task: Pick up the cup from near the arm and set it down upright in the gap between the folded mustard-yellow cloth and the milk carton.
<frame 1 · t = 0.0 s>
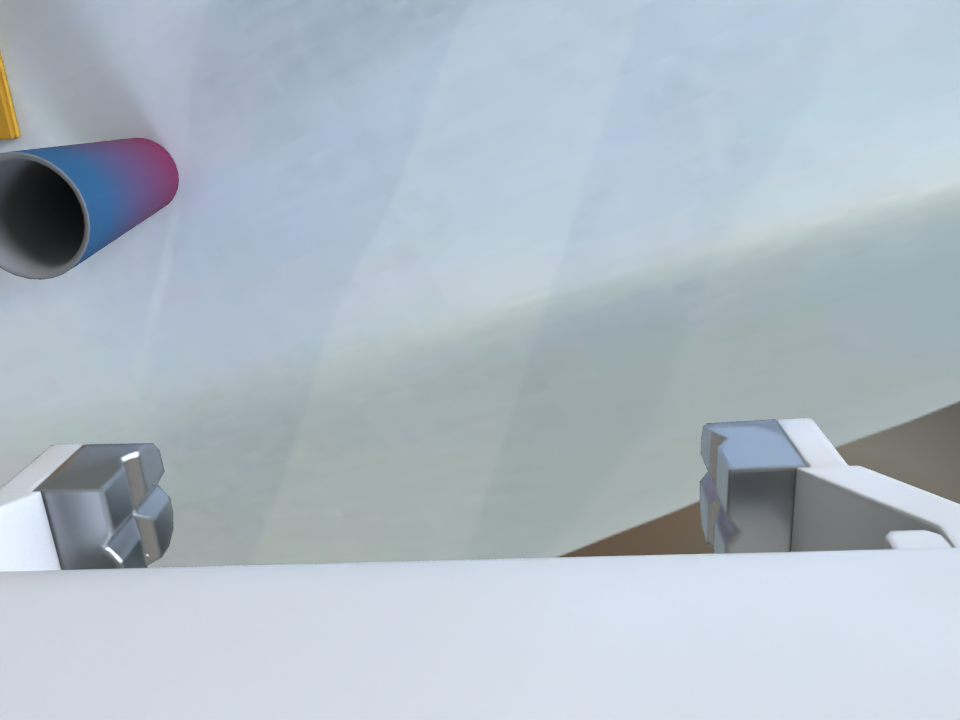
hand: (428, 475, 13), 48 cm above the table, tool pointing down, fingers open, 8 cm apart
cup: (144, 174, 60), on the table
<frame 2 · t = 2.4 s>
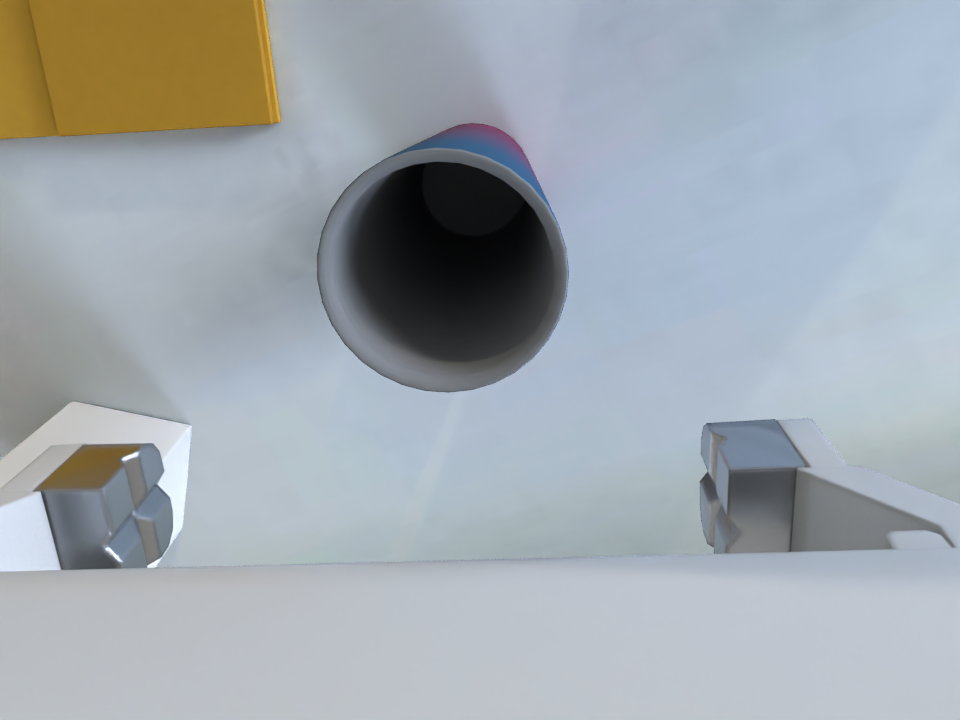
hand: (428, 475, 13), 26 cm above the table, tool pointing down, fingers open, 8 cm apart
milk: (130, 463, 43), on the table
cup: (474, 182, 38), on the table
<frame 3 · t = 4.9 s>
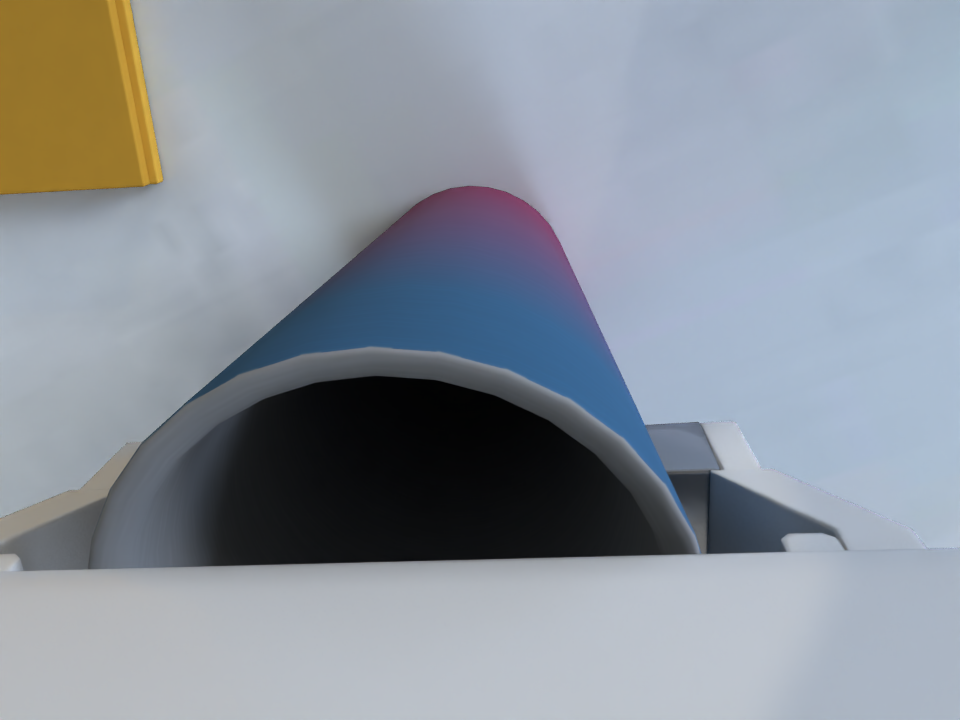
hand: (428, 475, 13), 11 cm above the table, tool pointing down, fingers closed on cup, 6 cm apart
cup: (473, 277, 24), on the table, touching gripper
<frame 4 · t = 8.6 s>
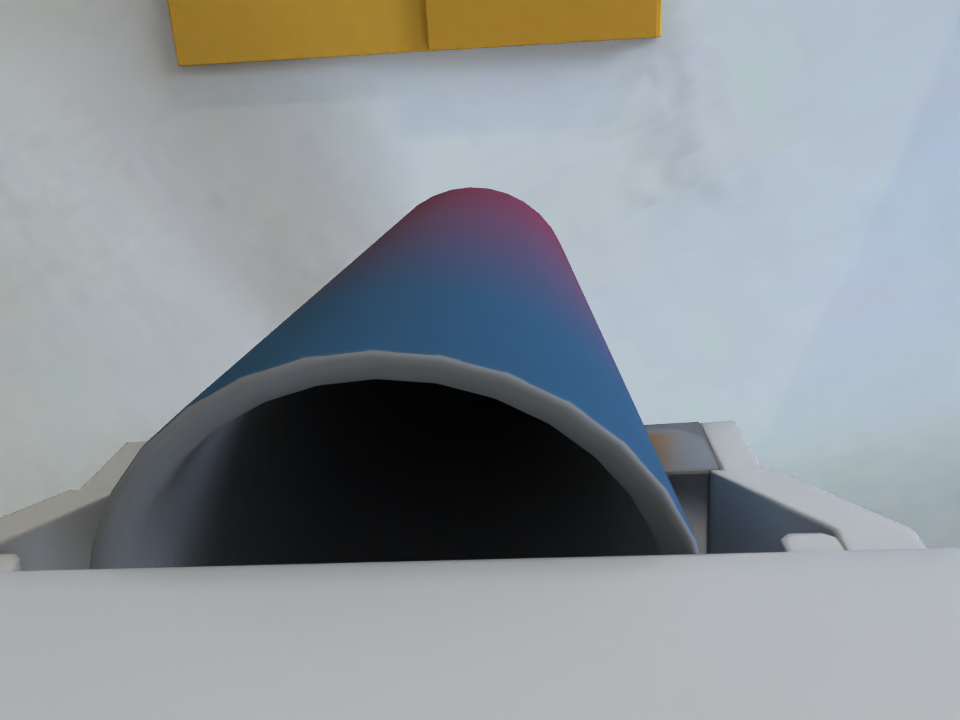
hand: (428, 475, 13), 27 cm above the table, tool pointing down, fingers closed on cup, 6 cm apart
cup: (474, 278, 24), point 15 cm above the table, touching gripper
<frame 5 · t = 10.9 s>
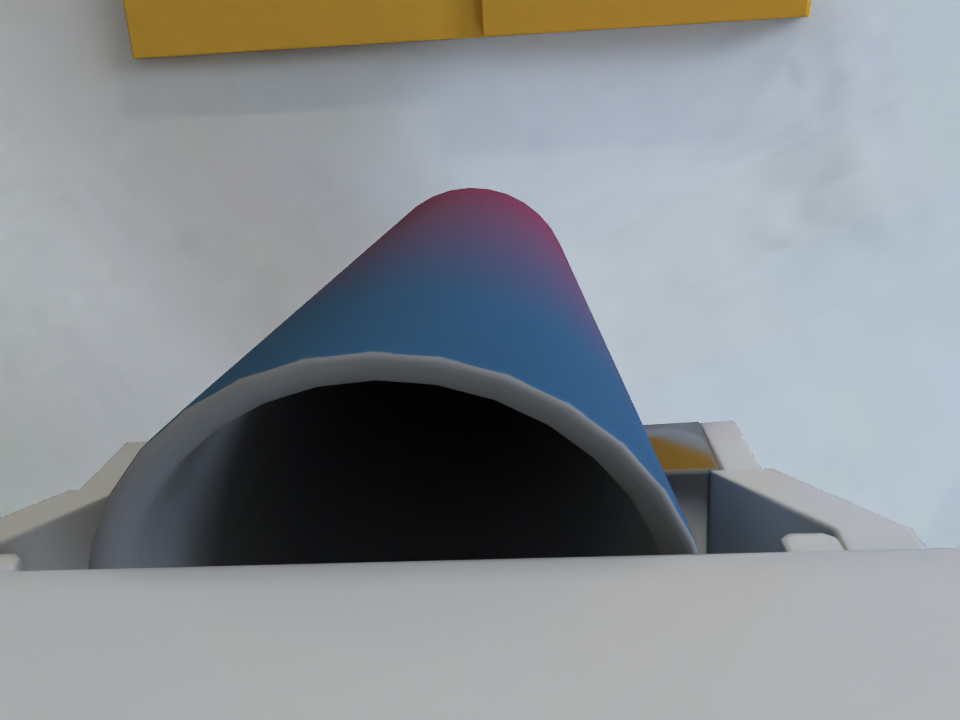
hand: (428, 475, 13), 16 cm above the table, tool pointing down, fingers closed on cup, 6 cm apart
cup: (474, 279, 24), point 5 cm above the table, touching gripper
when the fingers open (11 cm above the table, at t = 12.7 s): cup stays where it is, on the table.
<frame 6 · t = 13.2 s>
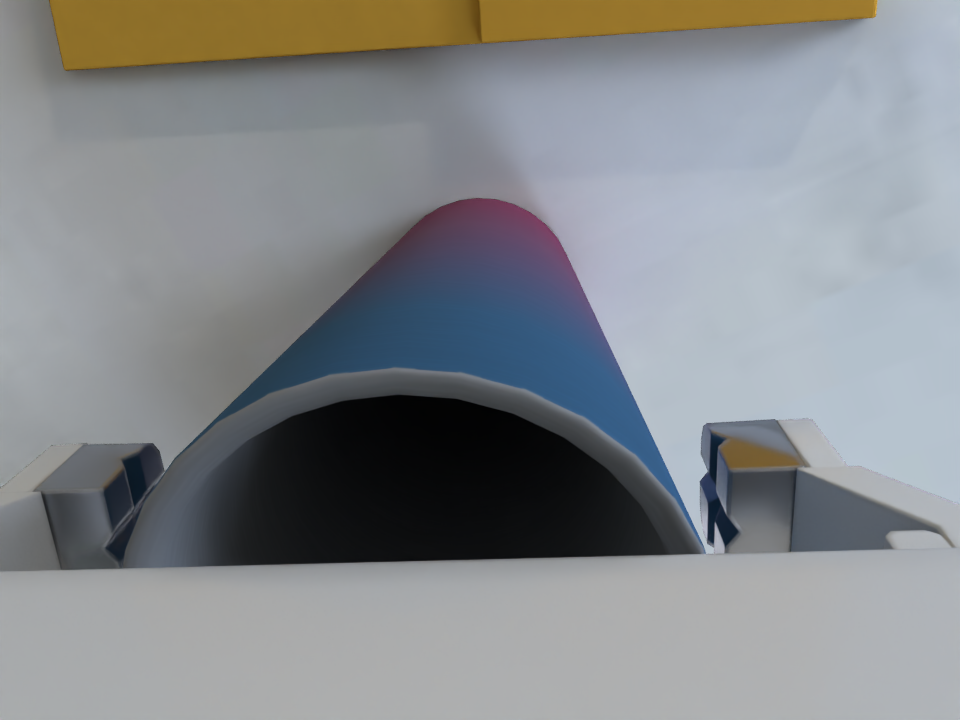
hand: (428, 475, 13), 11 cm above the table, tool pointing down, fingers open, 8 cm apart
cup: (481, 287, 24), on the table
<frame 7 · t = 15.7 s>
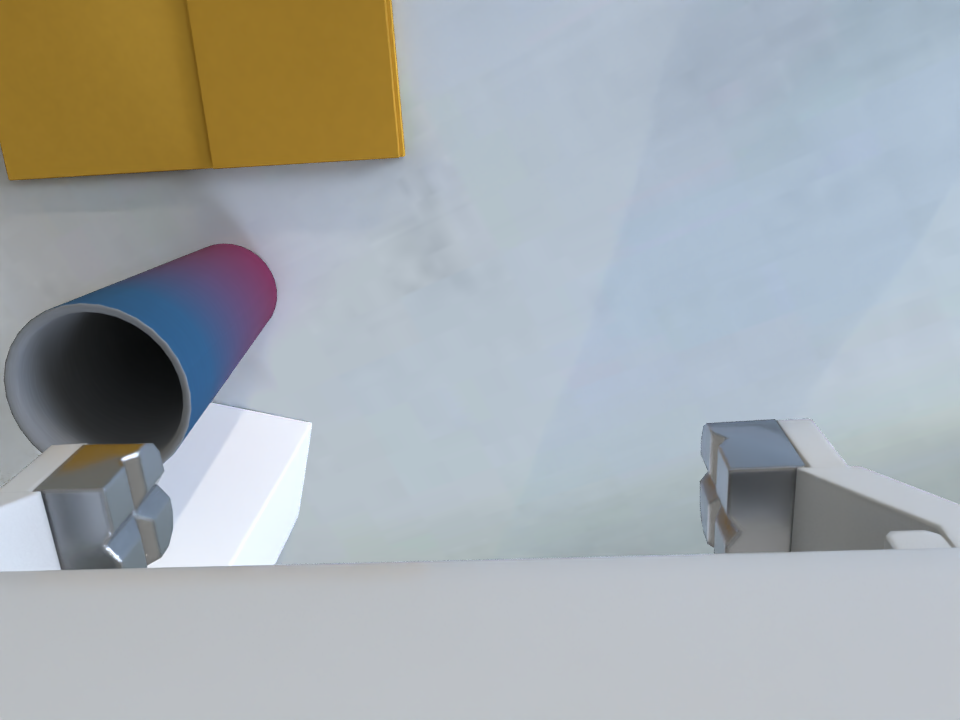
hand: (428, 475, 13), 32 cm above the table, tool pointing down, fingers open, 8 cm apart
milk: (254, 457, 49), on the table
cup: (230, 289, 46), on the table
cloth: (182, 17, 41), on the table
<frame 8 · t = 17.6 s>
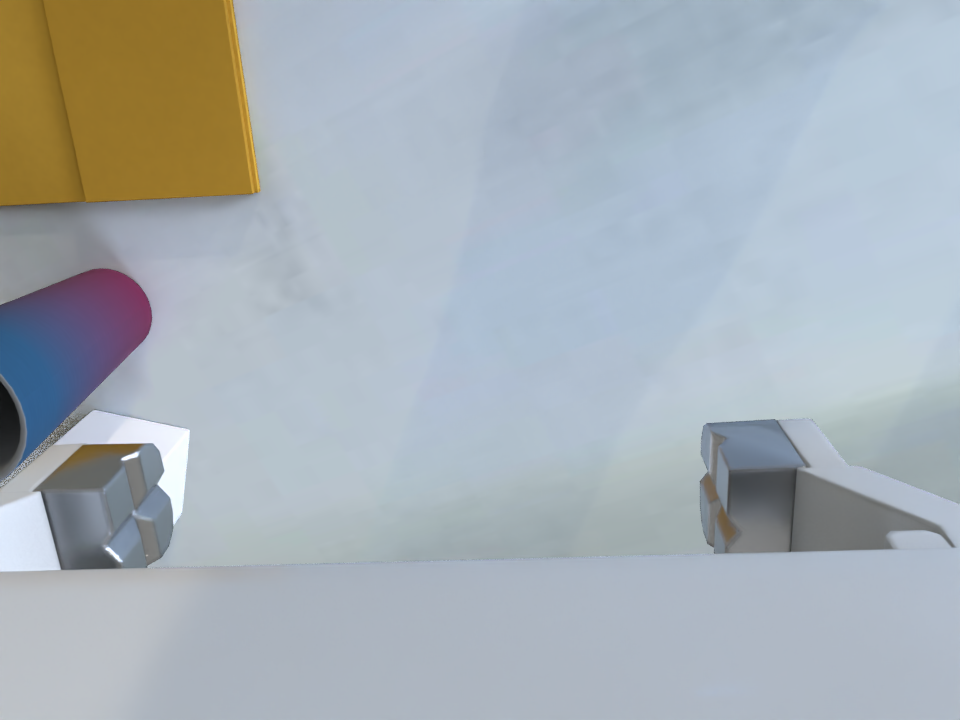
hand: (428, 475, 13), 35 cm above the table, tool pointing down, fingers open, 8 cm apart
milk: (140, 460, 53), on the table
cup: (110, 309, 50), on the table
cloth: (52, 66, 45), on the table
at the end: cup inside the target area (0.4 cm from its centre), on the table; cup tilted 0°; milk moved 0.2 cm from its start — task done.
